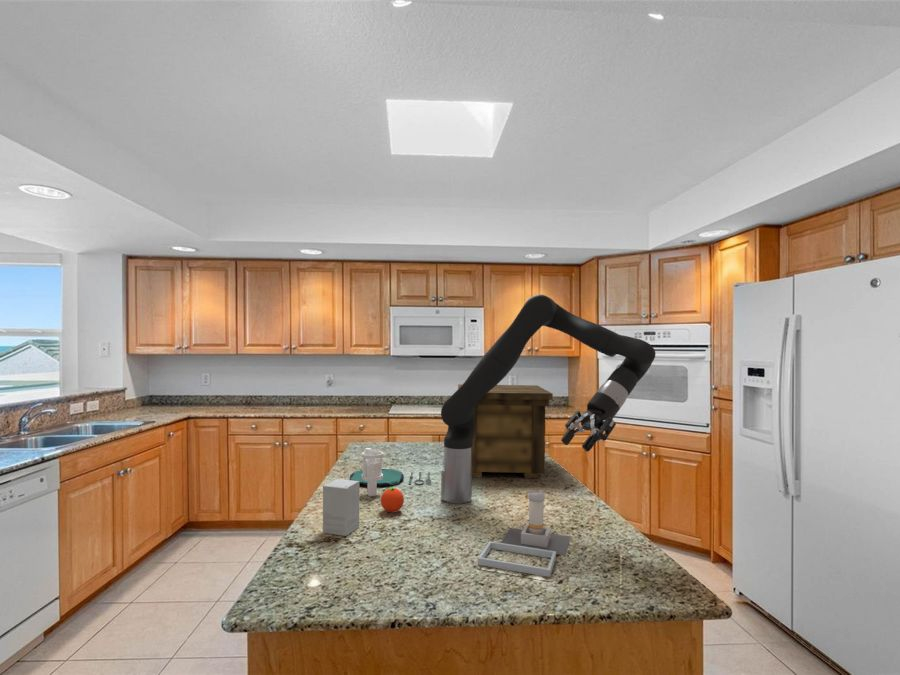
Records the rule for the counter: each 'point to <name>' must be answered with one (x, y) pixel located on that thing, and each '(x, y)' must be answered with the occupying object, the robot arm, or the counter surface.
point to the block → (537, 540)
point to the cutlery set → (387, 477)
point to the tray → (516, 566)
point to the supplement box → (340, 507)
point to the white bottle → (536, 512)
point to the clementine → (392, 499)
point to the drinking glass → (372, 470)
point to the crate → (510, 430)
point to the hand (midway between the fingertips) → (574, 446)
